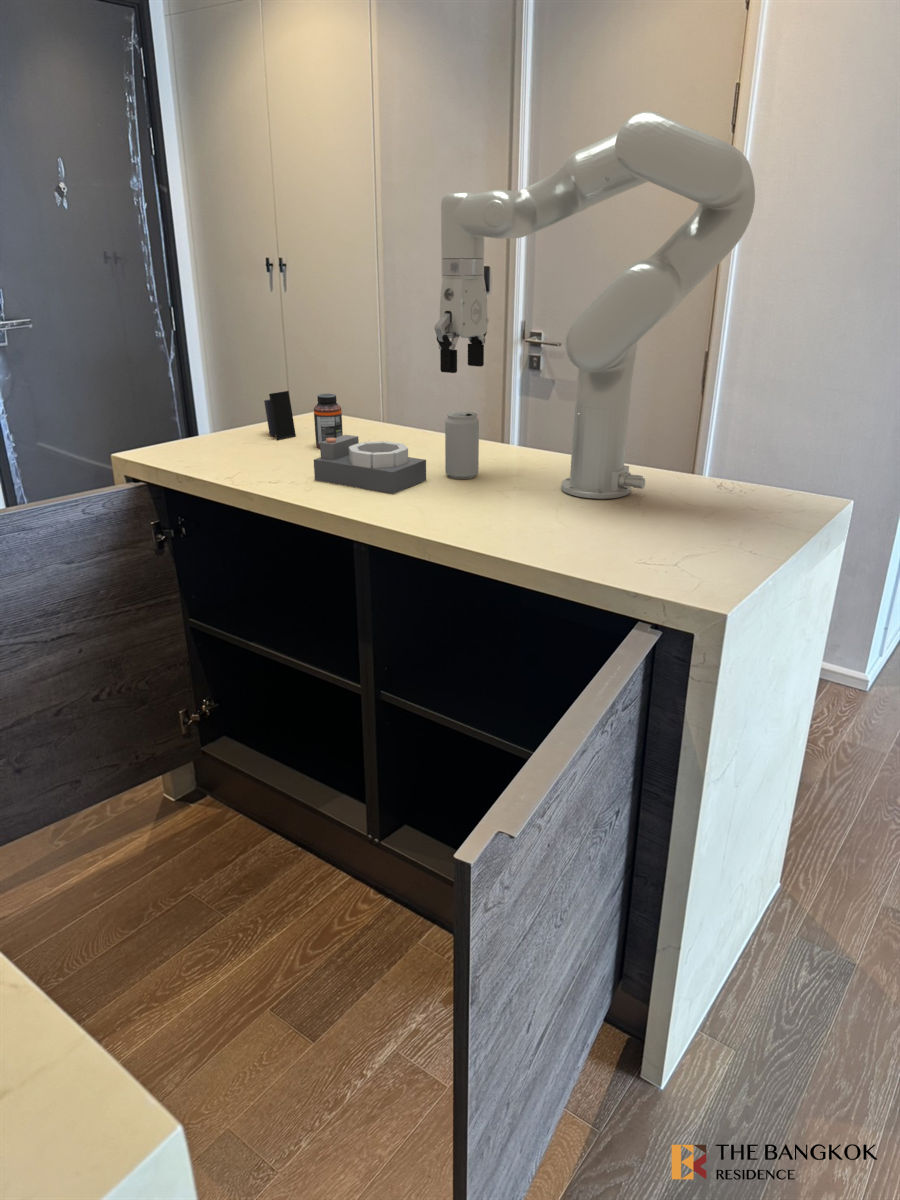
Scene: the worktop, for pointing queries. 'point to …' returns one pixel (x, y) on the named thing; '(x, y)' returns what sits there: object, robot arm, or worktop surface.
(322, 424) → the supplement bottle
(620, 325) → the robot arm
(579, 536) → the worktop surface
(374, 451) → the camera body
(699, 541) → the worktop surface
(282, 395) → the speaker
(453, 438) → the beverage can
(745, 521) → the worktop surface
